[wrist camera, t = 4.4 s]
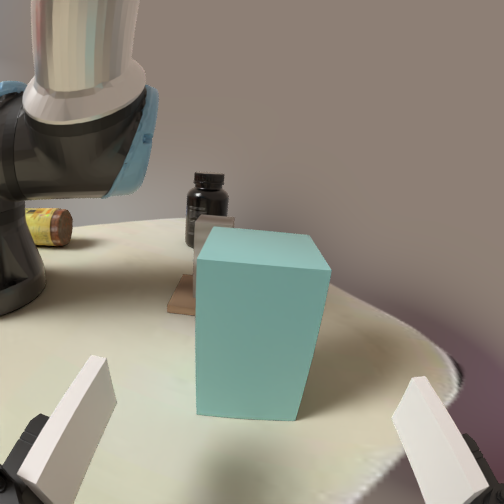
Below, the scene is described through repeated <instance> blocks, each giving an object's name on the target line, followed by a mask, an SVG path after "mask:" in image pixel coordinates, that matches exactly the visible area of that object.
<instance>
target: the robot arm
mask: <svg viewBox="0 0 504 504" xmlns="http://www.w3.org/2000/svg"><path fill="white" fill-rule="evenodd" d="M138 7H139V0H31V29H32V47H33V59H34V69H35V76H34V77H33V78H32V80H31V81H30V82H29V84H28V85H26V84H25V83H23V82H18V81H3V82H1V83H0V315H3V314H6V313H9V312H11V311H14V310H16V309H18V308H20V307H22V306H24V305H26V304H27V303H29V302H30V301H32V300H33V299H35V298H36V297H37V296H38V295H39V294H40V293H41V292H42V290H43V289H44V287H45V285H46V276H45V270H44V264H43V261H42V258H41V256H40V254H39V252H38V249H37V247H36V245H35V242H34V240H33V237H32V235H31V233H30V230H29V227H28V225H27V222H26V215H25V200H38V199H39V200H40V199H69V198H102V199H105V198H108V197H110V196H122V195H129V194H133V193H134V192H136V191H137V190H138V189H139V188H140V186H141V185H142V183H143V180H144V177H145V174H146V170H147V166H148V162H149V157H150V152H151V147H152V138H153V133H154V130H155V125H156V119H157V111H158V102H159V98H158V97H159V95H158V91H157V89H156V88H154V87H150V86H148V85H145V83H146V75H145V72H144V69H143V68H142V67H141V65H140V64H138V63H137V62H136V61H135V60H133V59H132V58H131V57H132V48H133V40H134V33H135V25H136V19H137V13H138ZM116 404H117V401H116V397H115V393H114V389H113V385H112V381H111V376H110V372H109V367H108V363H107V358H103V357H98V356H94V355H90V357H89V358H88V360H87V361H86V363H85V364H84V366H83V367H82V369H81V370H80V372H79V373H78V375H77V376H76V377H75V379H74V380H73V382H72V383H71V385H70V387H69V388H68V390H67V391H66V393H65V394H64V396H63V397H62V399H61V400H60V402H59V403H58V405H57V407H56V408H55V410H54V411H53V413H52V415H51V416H50V417H48V416H45V415H43V414H39V415H38V416H36V417H35V418H33V419H32V420H31V421H30V422H29V424H28V425H27V427H26V428H25V431H24V432H23V433H22V435H21V436H20V439H18V441H17V443H16V444H15V446H14V447H13V449H12V451H11V452H10V454H9V456H8V457H7V459H6V461H5V462H4V464H3V465H1V464H0V504H74V501H75V499H76V496H77V494H78V491H79V489H80V486H81V484H82V481H83V479H84V476H85V474H86V472H87V469H88V467H89V465H90V462H91V460H92V458H93V455H94V453H95V451H96V448H97V446H98V444H99V442H100V439H101V437H102V435H103V433H104V430H105V428H106V426H107V424H108V421H109V419H110V417H111V415H112V413H113V411H114V408H115V406H116ZM391 419H392V421H393V423H394V426H395V428H396V430H397V433H398V435H399V437H400V440H401V442H402V445H403V447H404V449H405V452H406V454H407V456H408V459H409V462H410V464H411V467H412V469H413V471H414V474H415V477H416V479H417V482H418V484H419V487H420V489H421V492H422V494H423V497H424V500H425V503H426V504H504V484H502V483H501V484H499V483H498V481H497V480H496V478H495V476H494V474H493V473H492V471H491V469H490V467H489V465H488V463H487V462H486V460H485V458H483V454H482V453H481V451H479V447H478V446H477V444H476V442H475V441H474V440H473V439H472V438H471V437H470V436H469V435H468V434H463V435H461V434H460V432H459V430H458V428H457V427H456V425H455V423H454V421H453V420H452V418H451V417H450V415H449V413H448V411H447V410H446V408H445V406H444V405H443V403H442V402H441V400H440V398H439V397H438V395H437V394H436V392H435V390H434V389H433V387H432V386H431V384H430V383H429V381H428V379H427V378H426V376H421V377H412V379H411V381H410V383H409V385H408V387H407V389H406V391H405V393H404V395H403V397H402V399H401V401H400V403H399V405H398V407H397V409H396V410H395V412H394V414H393V416H392V418H391Z"/></svg>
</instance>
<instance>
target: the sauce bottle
mask: <svg viewBox="0 0 504 504" xmlns="http://www.w3.org/2000/svg"><path fill="white" fill-rule="evenodd" d="M25 215H26V222H27V225H28V227H29V230H30V233H31V235H32V237H33V240H34V242H35V245H46V246H60V245H61V246H63V245H66V244H68V243H69V241H70V239H71V235H72V217H71V214H70V213H69V211H68V210H65V209H63V210H62V209H59V208H25Z"/></svg>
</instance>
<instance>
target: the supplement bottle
mask: <svg viewBox="0 0 504 504" xmlns="http://www.w3.org/2000/svg"><path fill="white" fill-rule="evenodd" d="M194 184H195V187H194V188H192V189H191V190H190V191H189V192H188V194H187V207H186V209H187V210H186V230H185V242H186V244H187V245H188V246H190V247H192V248H194V233H195V221H196V220H197V219H198V218H199V216H200V215H213V216H225V217H227V214H228V202H229V196H228V193H227V192H226V191H225V190H223V189H222V185H224V174H222V173H214V172H195V178H194Z"/></svg>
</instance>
